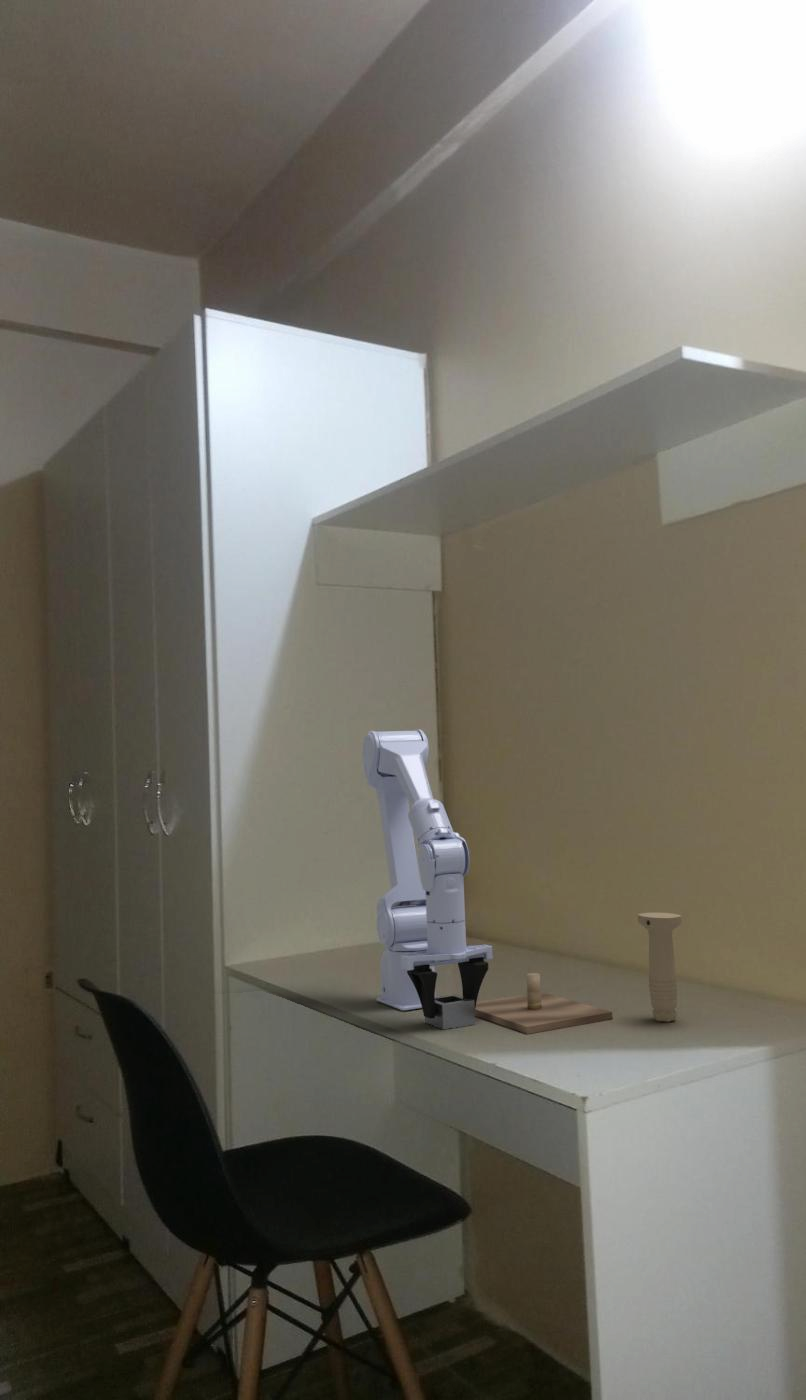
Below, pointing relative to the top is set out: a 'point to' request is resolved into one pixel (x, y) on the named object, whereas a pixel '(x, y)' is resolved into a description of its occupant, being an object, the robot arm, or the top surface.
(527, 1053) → the top surface
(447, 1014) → the collar
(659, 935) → the handle
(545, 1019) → the board
